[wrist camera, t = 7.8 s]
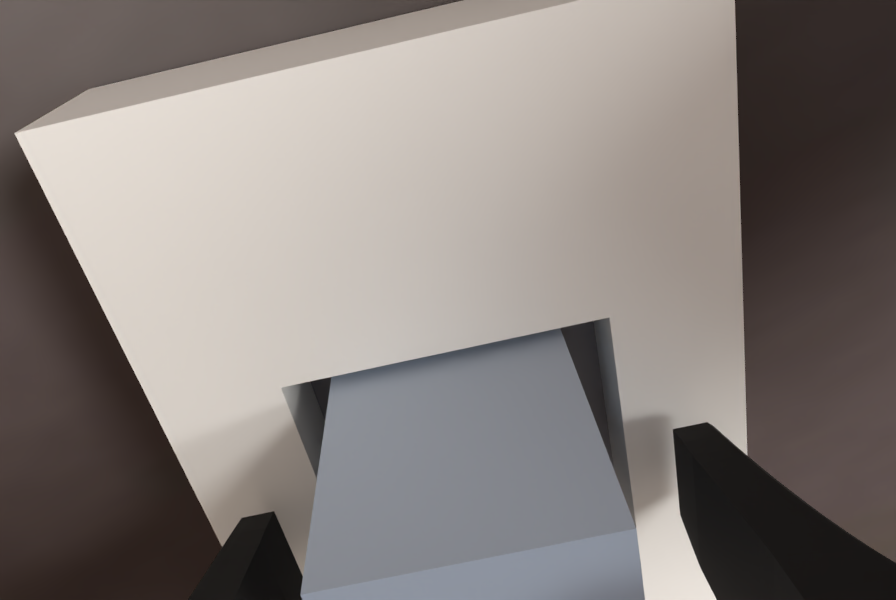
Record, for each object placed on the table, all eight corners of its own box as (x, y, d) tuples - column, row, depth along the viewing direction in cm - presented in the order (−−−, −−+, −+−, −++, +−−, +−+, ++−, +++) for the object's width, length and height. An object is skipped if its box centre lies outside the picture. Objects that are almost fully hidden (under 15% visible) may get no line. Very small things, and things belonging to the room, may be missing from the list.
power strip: (666, -49, 12) (746, -34, 9) (715, 692, 22) (763, 809, 19) (88, 89, 13) (0, 141, 10) (382, 754, 22) (379, 878, 19)
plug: (546, 290, 14) (635, 528, 9) (576, 471, 16) (663, 752, 11) (337, 334, 14) (300, 595, 9) (394, 508, 16) (392, 801, 11)
